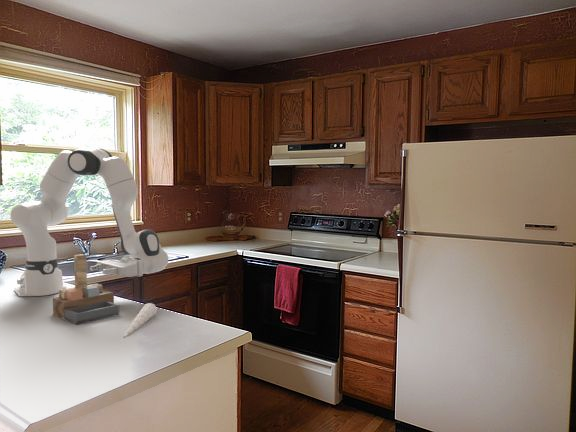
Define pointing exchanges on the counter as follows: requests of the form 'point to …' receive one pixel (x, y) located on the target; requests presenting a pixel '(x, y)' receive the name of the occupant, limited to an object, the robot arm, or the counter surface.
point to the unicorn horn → (142, 317)
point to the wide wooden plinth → (79, 302)
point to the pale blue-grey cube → (90, 291)
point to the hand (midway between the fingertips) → (97, 270)
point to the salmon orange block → (74, 294)
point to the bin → (91, 312)
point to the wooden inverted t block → (79, 275)
